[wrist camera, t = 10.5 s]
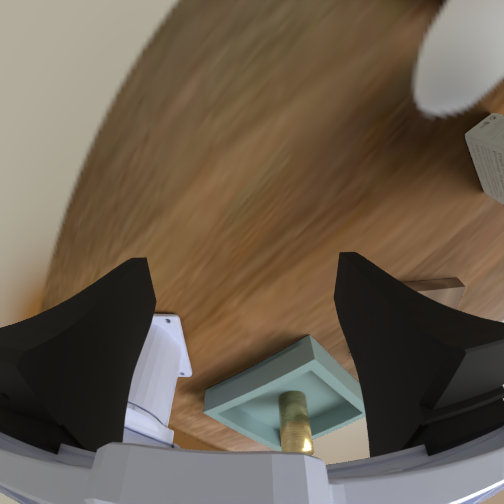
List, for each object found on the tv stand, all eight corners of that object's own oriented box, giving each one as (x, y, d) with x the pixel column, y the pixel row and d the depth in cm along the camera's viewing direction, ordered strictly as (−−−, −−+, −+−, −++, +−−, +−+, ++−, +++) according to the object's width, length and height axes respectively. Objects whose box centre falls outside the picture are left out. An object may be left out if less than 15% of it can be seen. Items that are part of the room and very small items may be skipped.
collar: (361, 354, 28) (365, 365, 27) (379, 283, 24) (386, 294, 23) (432, 344, 28) (437, 353, 27) (457, 277, 24) (465, 286, 23)
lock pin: (276, 406, 31) (280, 460, 25) (279, 390, 30) (283, 448, 23) (303, 405, 31) (310, 459, 25) (307, 389, 30) (316, 446, 23)
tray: (278, 432, 35) (279, 451, 33) (205, 389, 30) (202, 412, 28) (368, 391, 31) (374, 411, 29) (309, 334, 27) (314, 358, 24)
